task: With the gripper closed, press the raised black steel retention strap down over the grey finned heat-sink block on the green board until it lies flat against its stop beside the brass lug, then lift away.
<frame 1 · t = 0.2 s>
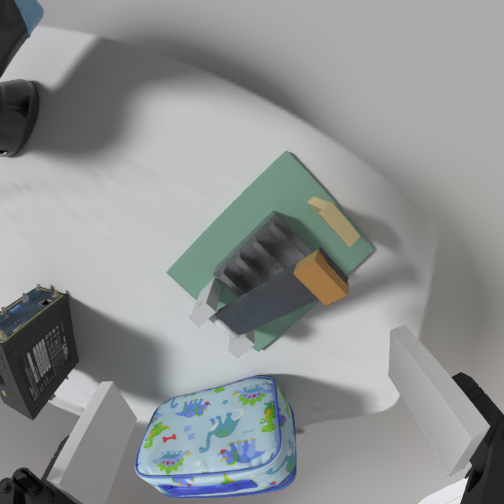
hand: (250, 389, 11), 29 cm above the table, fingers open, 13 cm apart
board: (271, 259, 40), on the table
lunch box: (219, 402, 48), on the table
router: (58, 324, 44), on the table
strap: (270, 304, 28), point 13 cm above the table, hinge at 30.0°
heatsink: (269, 261, 40), resting on board
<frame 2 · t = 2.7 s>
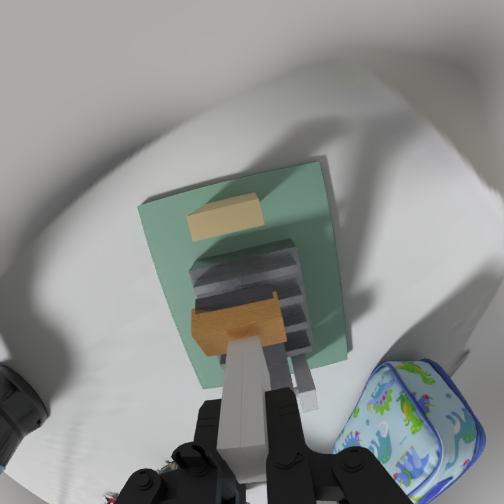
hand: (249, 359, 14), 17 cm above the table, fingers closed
board: (253, 290, 31), on the table
lunch box: (373, 410, 37), on the table
router: (203, 476, 42), on the table
molecular model: (119, 499, 48), on the table
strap: (260, 370, 19), point 13 cm above the table, hinge at 27.7°, touching gripper
heatsink: (254, 294, 31), resting on board
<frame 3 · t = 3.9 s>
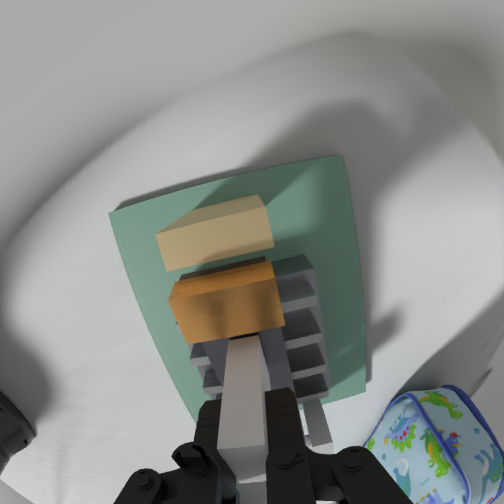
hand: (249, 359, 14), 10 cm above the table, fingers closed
board: (255, 317, 24), on the table
lunch box: (387, 438, 31), on the table
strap: (260, 392, 15), point 10 cm above the table, hinge at 8.0°, touching gripper
heatsink: (256, 322, 24), resting on board
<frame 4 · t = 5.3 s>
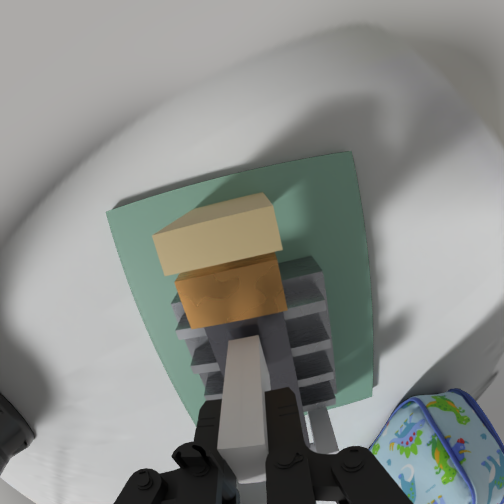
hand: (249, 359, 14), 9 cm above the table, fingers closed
board: (259, 321, 23), on the table
lunch box: (392, 442, 30), on the table
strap: (263, 389, 15), point 9 cm above the table, hinge at 1.7°
heatsink: (261, 326, 23), resting on board
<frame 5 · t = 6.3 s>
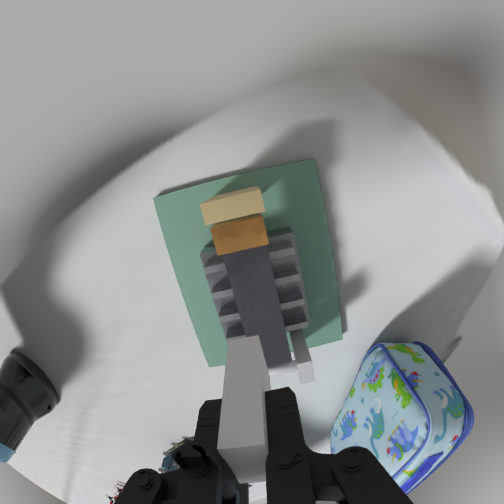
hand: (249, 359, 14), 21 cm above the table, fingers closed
board: (256, 273, 35), on the table
lunch box: (369, 392, 41), on the table
router: (207, 459, 46), on the table
molecular model: (130, 489, 54), on the table
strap: (257, 302, 26), point 9 cm above the table, hinge at 1.7°
heatsink: (257, 277, 35), resting on board
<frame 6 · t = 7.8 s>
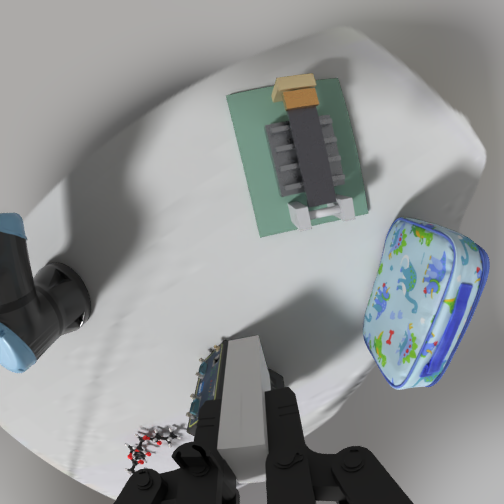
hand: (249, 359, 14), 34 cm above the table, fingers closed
board: (300, 153, 43), on the table
lunch box: (393, 281, 50), on the table
router: (242, 370, 55), on the table
molecular model: (151, 439, 62), on the table
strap: (311, 147, 35), point 9 cm above the table, hinge at 1.7°
heatsink: (301, 156, 44), resting on board
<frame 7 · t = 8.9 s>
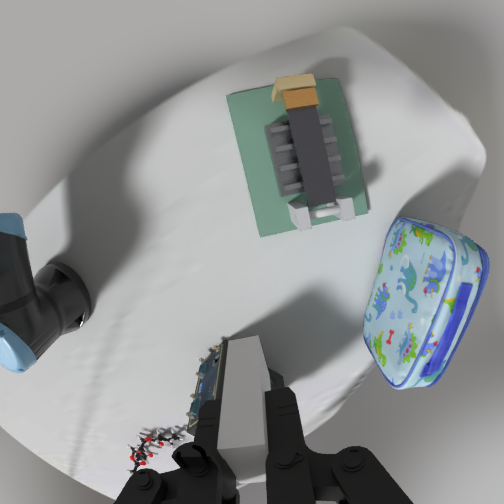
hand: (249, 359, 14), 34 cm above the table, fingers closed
board: (300, 153, 43), on the table
lunch box: (393, 281, 50), on the table
router: (242, 370, 55), on the table
molecular model: (153, 440, 62), on the table
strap: (311, 147, 35), point 9 cm above the table, hinge at 1.7°
heatsink: (300, 156, 44), resting on board
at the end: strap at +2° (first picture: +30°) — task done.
